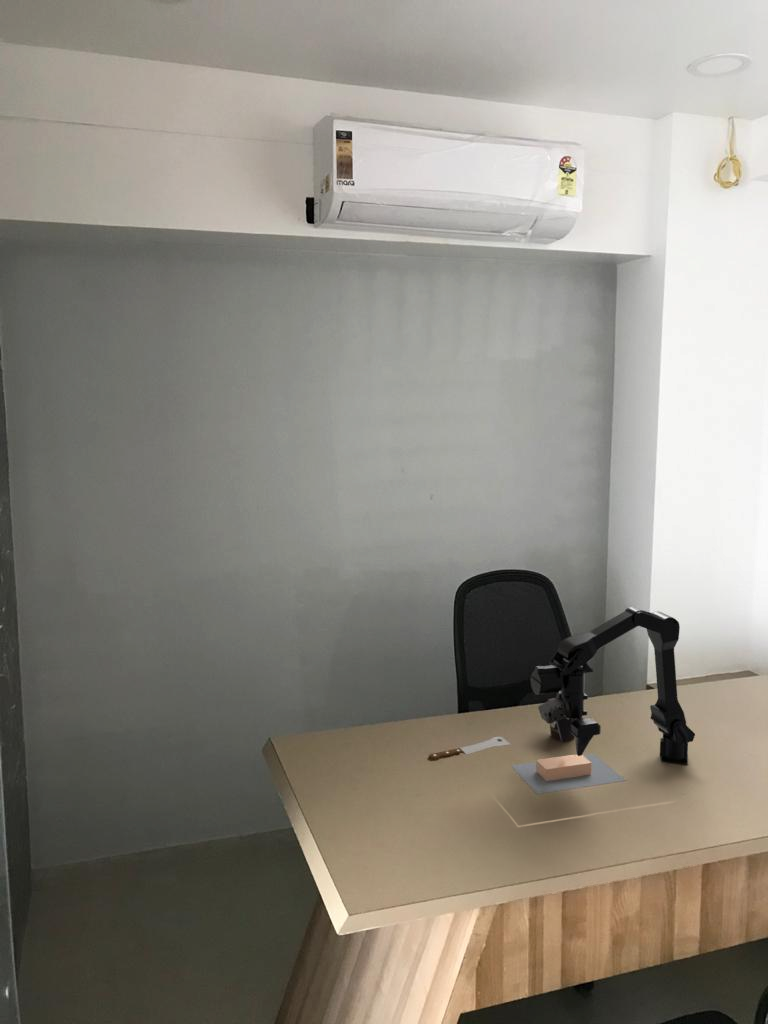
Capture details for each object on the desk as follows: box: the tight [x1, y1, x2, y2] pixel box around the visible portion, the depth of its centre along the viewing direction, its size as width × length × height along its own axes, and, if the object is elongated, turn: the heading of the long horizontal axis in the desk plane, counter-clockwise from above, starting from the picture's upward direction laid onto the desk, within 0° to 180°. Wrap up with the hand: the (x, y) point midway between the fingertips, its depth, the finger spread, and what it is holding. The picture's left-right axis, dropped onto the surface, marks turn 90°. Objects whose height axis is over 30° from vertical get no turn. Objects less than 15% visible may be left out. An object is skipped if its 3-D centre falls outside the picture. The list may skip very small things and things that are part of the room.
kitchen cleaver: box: [428, 736, 511, 761], centre depth 233 cm, size 24×1×10 cm
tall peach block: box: [535, 753, 591, 781], centre depth 220 cm, size 3×6×12 cm
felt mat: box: [510, 753, 627, 795], centre depth 220 cm, size 24×16×1 cm, turn 105°
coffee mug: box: [549, 721, 575, 742], centre depth 243 cm, size 12×9×10 cm
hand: (571, 748), depth 220 cm, fingers open, 8 cm apart
